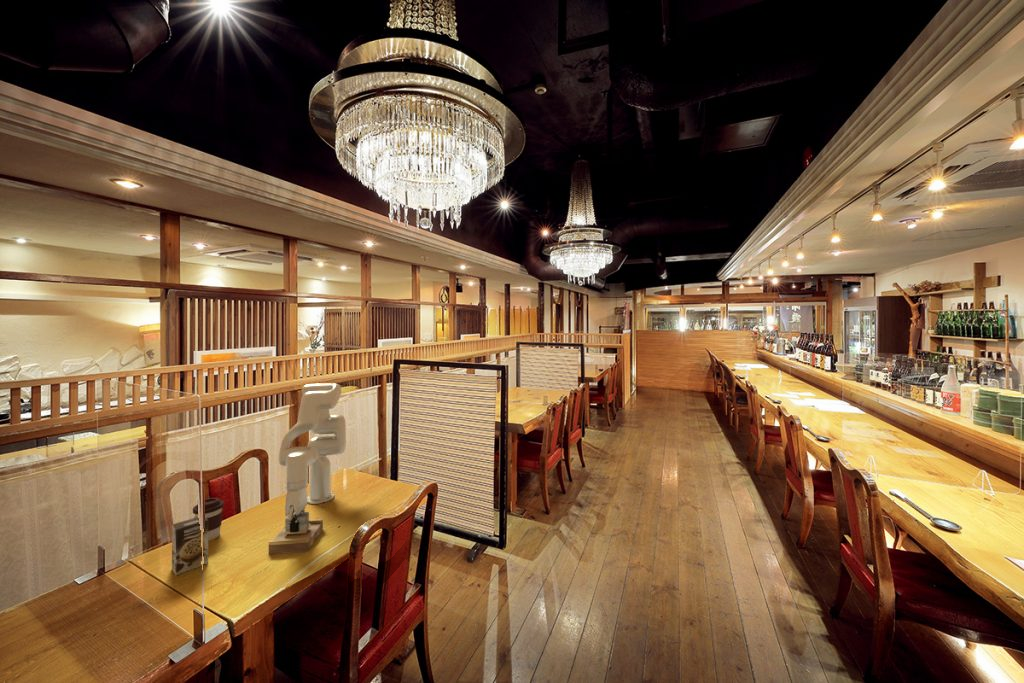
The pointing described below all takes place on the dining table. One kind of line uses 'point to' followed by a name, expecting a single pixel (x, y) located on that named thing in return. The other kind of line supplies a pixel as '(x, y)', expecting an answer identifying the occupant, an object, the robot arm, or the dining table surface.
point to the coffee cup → (212, 516)
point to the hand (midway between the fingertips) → (297, 527)
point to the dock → (296, 539)
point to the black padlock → (303, 523)
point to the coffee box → (188, 545)
